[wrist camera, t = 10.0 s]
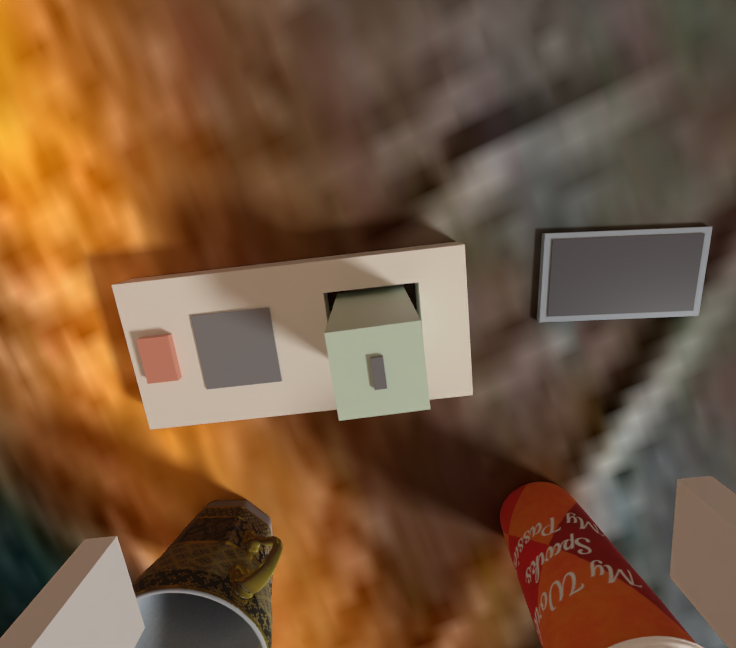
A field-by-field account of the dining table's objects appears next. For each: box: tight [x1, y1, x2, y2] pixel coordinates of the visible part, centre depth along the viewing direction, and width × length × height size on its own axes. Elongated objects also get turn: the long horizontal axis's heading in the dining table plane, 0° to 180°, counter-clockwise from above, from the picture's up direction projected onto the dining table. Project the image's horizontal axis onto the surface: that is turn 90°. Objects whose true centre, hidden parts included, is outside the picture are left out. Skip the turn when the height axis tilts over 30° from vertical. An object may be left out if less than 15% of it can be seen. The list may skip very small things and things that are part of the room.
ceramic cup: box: [132, 500, 282, 648], centre depth 29 cm, size 13×10×10 cm
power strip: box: [111, 242, 473, 430], centre depth 29 cm, size 10×22×3 cm, turn 96°
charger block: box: [324, 284, 430, 421], centre depth 25 cm, size 4×4×10 cm
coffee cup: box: [500, 481, 704, 648], centre depth 27 cm, size 8×8×15 cm
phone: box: [537, 227, 712, 322], centre depth 29 cm, size 6×11×1 cm, turn 92°
